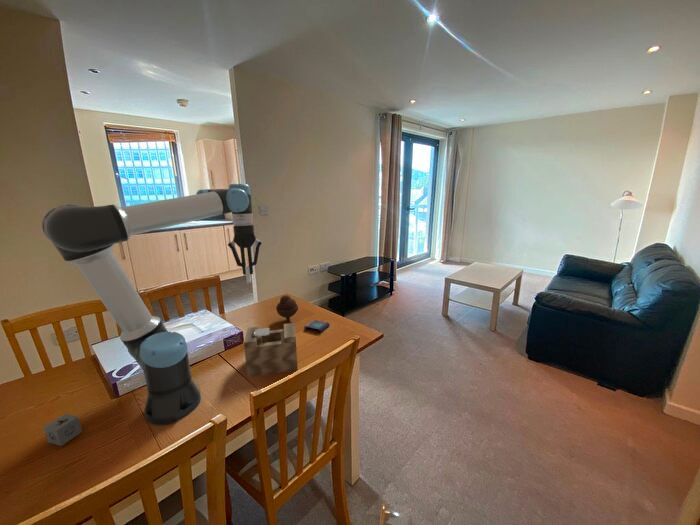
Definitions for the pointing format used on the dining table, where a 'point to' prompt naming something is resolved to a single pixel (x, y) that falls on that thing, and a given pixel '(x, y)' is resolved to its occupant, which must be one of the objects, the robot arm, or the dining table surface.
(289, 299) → the ice cream bowl
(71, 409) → the dining table surface
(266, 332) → the clip tab
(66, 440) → the grey toy block
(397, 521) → the pin
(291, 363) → the hitch block
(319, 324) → the blue flat box
